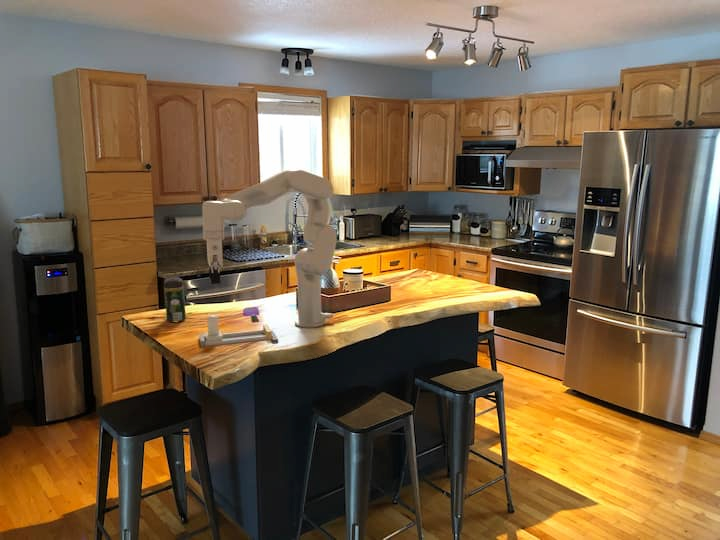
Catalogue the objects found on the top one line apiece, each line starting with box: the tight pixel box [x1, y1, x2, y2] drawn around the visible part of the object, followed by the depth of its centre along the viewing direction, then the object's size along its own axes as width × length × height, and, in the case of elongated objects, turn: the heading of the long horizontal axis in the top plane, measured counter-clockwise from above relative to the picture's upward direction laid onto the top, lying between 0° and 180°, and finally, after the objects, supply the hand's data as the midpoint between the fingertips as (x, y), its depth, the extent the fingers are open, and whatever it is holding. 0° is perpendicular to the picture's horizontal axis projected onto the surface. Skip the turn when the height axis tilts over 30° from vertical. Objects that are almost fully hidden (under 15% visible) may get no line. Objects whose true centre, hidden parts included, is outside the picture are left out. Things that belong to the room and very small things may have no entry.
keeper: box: [204, 314, 223, 342], centre depth 219 cm, size 6×6×9 cm
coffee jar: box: [163, 276, 187, 322], centre depth 252 cm, size 10×8×19 cm
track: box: [198, 324, 279, 348], centre depth 223 cm, size 28×12×4 cm, turn 108°
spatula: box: [242, 306, 260, 323], centre depth 254 cm, size 24×7×2 cm, turn 17°
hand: (214, 281), depth 218 cm, fingers open, 9 cm apart
